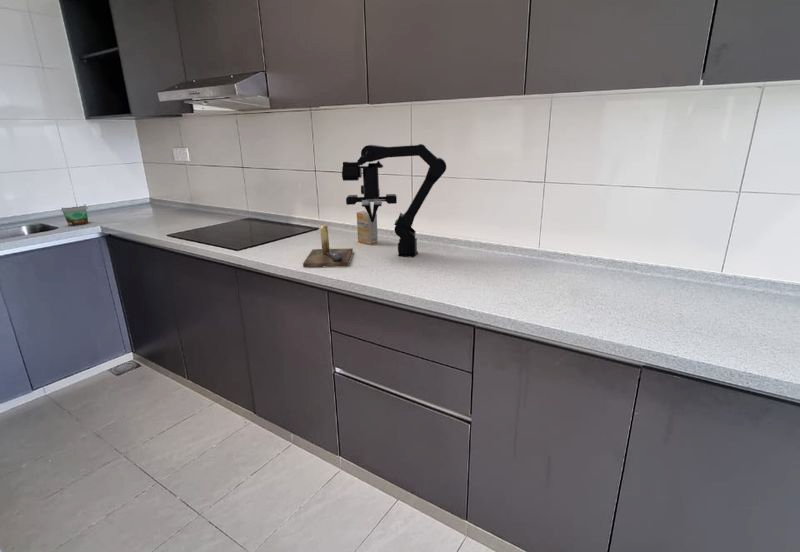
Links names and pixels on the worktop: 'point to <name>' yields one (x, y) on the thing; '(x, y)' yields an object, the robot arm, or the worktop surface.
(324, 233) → the tuning lever
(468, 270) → the worktop surface
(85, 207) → the food container
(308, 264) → the dial board
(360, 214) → the supplement box
